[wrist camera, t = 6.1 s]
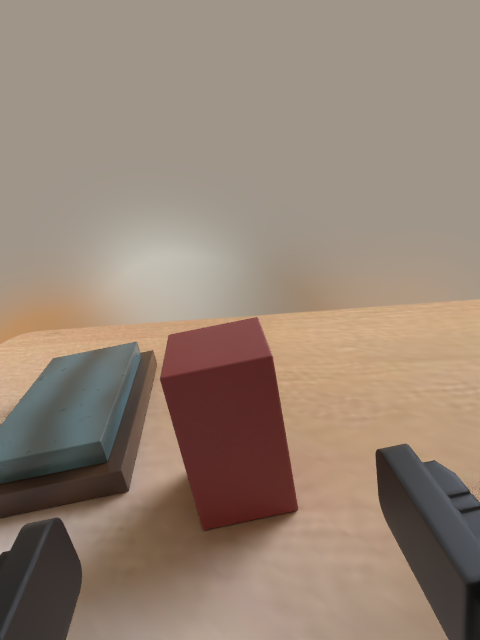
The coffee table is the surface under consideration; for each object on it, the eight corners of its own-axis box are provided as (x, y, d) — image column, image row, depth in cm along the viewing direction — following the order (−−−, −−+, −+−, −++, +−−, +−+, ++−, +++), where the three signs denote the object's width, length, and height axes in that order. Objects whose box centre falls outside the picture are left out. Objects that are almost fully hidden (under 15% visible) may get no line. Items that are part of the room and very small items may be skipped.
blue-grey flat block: (157, 364, 40) (149, 335, 39) (128, 491, 24) (113, 448, 23) (57, 384, 40) (45, 355, 39) (-38, 525, 24) (-61, 484, 23)
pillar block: (280, 448, 26) (257, 316, 22) (298, 511, 21) (272, 355, 18) (202, 464, 25) (167, 334, 22) (202, 531, 21) (159, 378, 18)
